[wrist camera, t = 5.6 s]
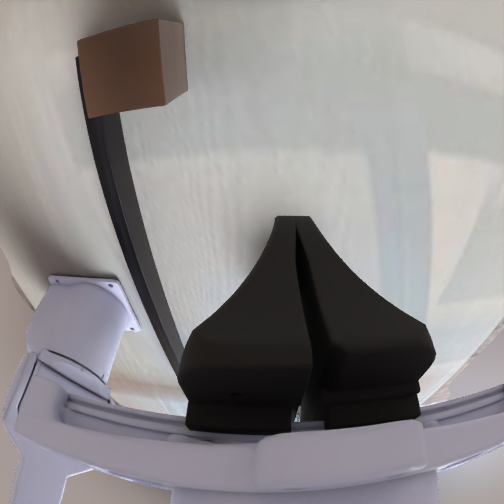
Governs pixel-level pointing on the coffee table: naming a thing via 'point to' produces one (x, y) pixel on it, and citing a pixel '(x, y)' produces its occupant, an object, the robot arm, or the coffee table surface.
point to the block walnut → (133, 67)
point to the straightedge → (130, 224)
